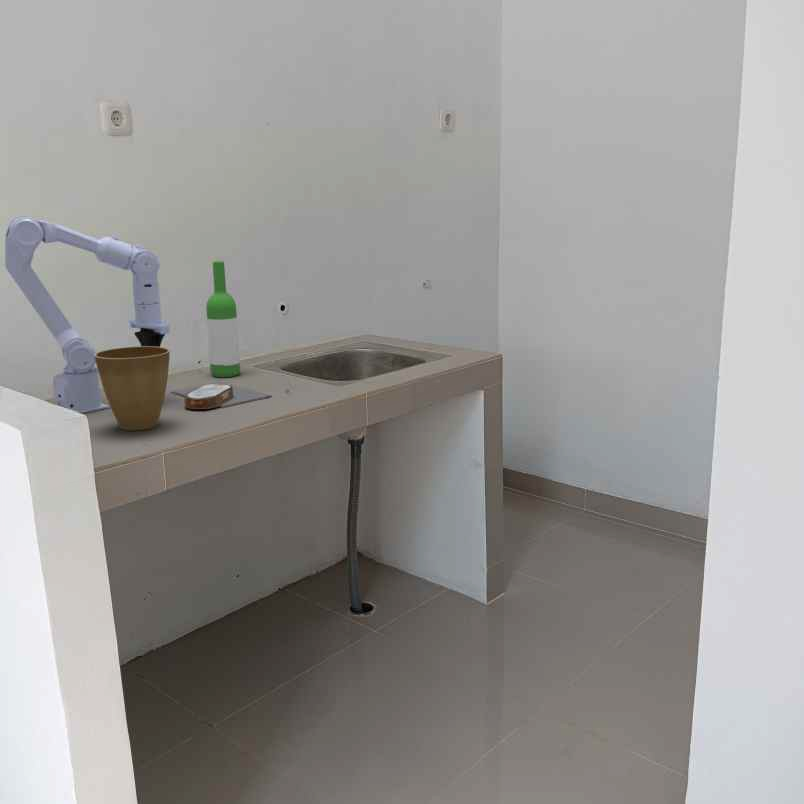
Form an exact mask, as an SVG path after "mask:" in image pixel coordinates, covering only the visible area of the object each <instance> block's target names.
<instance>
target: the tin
mask: <svg viewBox="0 0 804 804" xmlns="http://www.w3.org/2000/svg"><path fill="white" fill-rule="evenodd" d="M207 384H208V385H205V384H202V385H203V386H200V385H199V386H200V387H198V388H196V389H194V390H192V391H190V392H188V393H187V394H185V396H183V397H184V407H185V408H187V409H191V410H208V409H213V408H219V407H218V406H220V405H222V404H223V403H225V402H227V401H228V400H230V399H232V398H233V397H234V396H233V388H232V386H231V385H232V384H231V385H220V384H210V383H207Z"/></svg>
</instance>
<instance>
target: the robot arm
mask: <svg viewBox="0 0 804 804" xmlns="http://www.w3.org/2000/svg"><path fill="white" fill-rule="evenodd" d="M119 239H120V238H119V237H117V236H115V235H111V237H109V236H104V237H102V238H99V239H97V238H95V237H92V236H89V235H86V234H84V233H82V232H78V231H76V230H73V229H71V228H69V227H65V226H63V225H60V224H58V223H55V222H50V221H46V220H40V219H33V218H31V217H28V216H17V217H15V218H14V219H13V220H12V221H11V222H9V225H8V227H7V230H6V232H5V234H4V242H5V243H4V244H5V245H4V247H5V248H4V265H5V266H4V267H5V269H6V271H7V272H8V273H9V275H10V276H11V277H12V279H13V281H14V282H15V284H16V285H17V286H18V288H19V289H20V290H21V292H22V294H23V295H24V296H25V297H26V299H27V300H28V302H29V304H30V305H31V306H32V308H33V309H34V310H35V312H36V313H37V314H38V316H39V317H40V319H41V320H42V322H43V323H44V324H45V326H46V327H47V329H48V330H49V331H50V333H51V334H52V336H53V338H55V340H56V341H57V343H58V344H59V346H60V348H61V351H62V352H61V353H62V357H63V358H64V360H65V362H66V365H65V367H64V368H63V372H61V373H59V374H56V375H54V376H53V377H52V378H53V379H52V389H53V390H52V391H53V395H54V396H53V397H54V405H55V404H56V405H59V406H62V407H65V408H68V409H72V410H75V411H78V412H81V413H80V414H83V413H88V412H94V411H99V410H103V409H109V408H110V405H109V404H105V403H103V402H102V397H101V389H100V387H101V386H100V379H99V378H100V376H99V372H98V368H97V365H96V360H95V356H94V355H95V354H96V353H97V352H96V351H95V349H94V348H93V347H92V346H91V345H90V343H89V342H88V341H87V340H85V339H84V338H81V337H80V336H79V334H78V332H77V331H76V330H75V329H74V326H73V325H72V324H71V323H70V321H69V320H68V318H67V317H66V316H65V314H64V313H63V311H62V309H61V308H60V306H59V305H58V304H57V302H56V301H55V299H54V298H53V297H52V295H51V294H50V293H49V291H48V289H47V288H46V286H45V285H44V283H43V282H42V281H41V280H40V278H39V277H38V275H37V273H36V272H35V271H34V270H33V268H32V266H31V265H32V261H33V259H34V258H33V257H34V255H35V252H36V250H37V248H38V247H39V245H40V244H41V243H42V242H43V243H44V244H51V243H57V242H58V243H62V244H66V245H69V246H71V247H72V246H73V247H75V248H78V249H82V250H84V251H87V252H91V253H93V254H95V256H96V258H97V260H98V261H99V262H101V263H104V264H107V265H110V266H113V267H115V268H118V269H121V270H123V271H129V270H130V271H131V275H132V292H133V303H134V307H133V308H134V314H135V318H130V319H129V328H131V329H135V328H136V329H140V330H139V331H135V332H134V336H135V338H136V339H137V340H138V342H139V344H140V346H152V347H161V344H162V341H163V339H164V337H165V336H166V335H167V334H171V333H170V325H169V324H167V320H165V319H162V309H161V299H160V298H161V297H160V286H159V281H158V272H159V270H160V266H161V263H160V262H159V259H158V257H157V256H156V255H155V254H154V253H153V252H151V251H148V250H146V249H145V248H140V246H139V245H138V244H134V245H133V244H129V243H126V242H124V241H121V240H119Z"/></svg>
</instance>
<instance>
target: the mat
mask: <svg viewBox="0 0 804 804" xmlns="http://www.w3.org/2000/svg"><path fill="white" fill-rule="evenodd" d="M208 384H220V385H231V386H232V388H233V396H234V397H233V398H232V399H230V400H228V401H227V402H225V403H223V404H222V405H220V406H218V407H217V408H221V409H223V408H229V407H232V406H238V405H241V403H242V404H246V402H247V403H251V402H255V401H254V400H256V401H259V399H260V400H264V399H263V398H265V399H268V398H267V397H269V398H272V397H273V395H272V394H269V393H264V392H261V391H257V390H254V389H249V388H245V387H242V386H237V385H234V384H230V383H226V382H222V381H216V382H211V383H207V384H206V383H205V384H202V385H201V384H200V385H196V386H192V387H187V388H181V389H176V390H171V391H170V393H171V394H173V393H174V395H178V396H181V397H184V396H185V394H187V393H188V392H190V391H192V390H194V389H196V388H198V387H200V386H203V385H208ZM250 401H251V402H250ZM237 404H238V405H237ZM228 406H229V407H228Z"/></svg>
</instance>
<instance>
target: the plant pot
mask: <svg viewBox="0 0 804 804" xmlns="http://www.w3.org/2000/svg"><path fill="white" fill-rule="evenodd" d="M170 353H171V350H170V349H169V348H168V347H167V348H166V347H162V346H160V347H152V346H141V345H140V346H128V347H127V346H125V347H117V348H109V349H105V350H101V351H98V352H96V354H95V355H94V356H95V360H96V363H95V365H96V366H97V368H98V376H99V378H100V379H99V380H100V382H101V385H102V388H103V391H104V394H105V397H106V399H107V402H108V406H109V408H110V409H111V412H112V413H113V416H114V418H115V420H116V422H117V424H118V426H119V428H120V429H121V430H123V431H129V432H130V431H131V432H135V431H136V432H137V431H144V430H145V431H146V430H150V429H153V428H156V427H157V426H158V424H159V423H158V422H159V419H160V416H161V412H162V409H163V404H164V400H165V397H166V396H165V395H166V390H167V384H168V377H169V366H170Z"/></svg>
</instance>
